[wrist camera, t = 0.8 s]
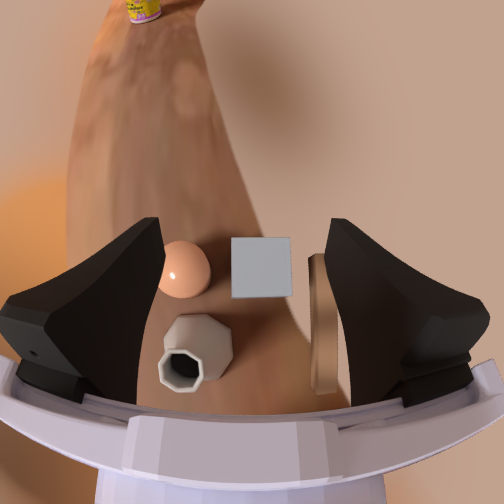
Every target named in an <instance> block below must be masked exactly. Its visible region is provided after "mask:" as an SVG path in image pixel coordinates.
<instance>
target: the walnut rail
mask: <svg viewBox="0 0 504 504" xmlns="http://www.w3.org/2000/svg"><path fill="white" fill-rule="evenodd" d="M308 264H309V265H308V266H309V285H310V312H311V313H310V316H311V389H312V390H313V391H314V392H315V393H316V394H317V395H322V394H329V393H335V392H337V373H338V372H337V370H338V323H337V322H338V321H337V320H338V319H337V305H336V302H335V299H334V296H333V293H332V290H331V286H330V283H329V280H328V277H327V272H326V267H325V262H324V254H314V255H312V256H311V257H309V258H308Z"/></svg>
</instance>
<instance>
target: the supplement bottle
mask: <svg viewBox="0 0 504 504" xmlns="http://www.w3.org/2000/svg"><path fill="white" fill-rule="evenodd" d="M126 4H127V8H128V12H129V16H130V20H131V22H132V23H136V24H140V23H146V22H149V21H152V20H154V19H156V18H157V17H158V16H159V15H160V14H161V5H160V0H126Z"/></svg>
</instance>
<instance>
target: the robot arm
mask: <svg viewBox="0 0 504 504" xmlns="http://www.w3.org/2000/svg"><path fill="white" fill-rule="evenodd" d="M165 259H166V254H165V249H164V244H163V239H162V234H161V229H160V224H159V219H158V217H149V218H144V219H142V220H140V221H139V222H137V223H136V224H134V225H133V226H132V227H130V228H129V229H128V230H126V231H125V232H124V233H122V234H121V235H120V236H118V237H117V238H116V239H115V240H113V241H112V242H110V243H109V244H108V245H106V246H105V247H104V248H102V249H101V250H99V251H98V252H97V253H95V254H94V255H92V256H91V257H89V258H88V259H86V260H85V261H83V262H82V263H80V264H78V265H77V266H75V267H74V268H72V269H70V270H68V271H66V272H64V273H62V274H61V275H59V276H57V277H55V278H53V279H51V280H49V281H47V282H45V283H42V284H40V285H38V286H36V287H33V288H31V289H28V290H25V291H22V292H20V293H17V294H15V295H12V296H10V297H9V298H8V299H7V301H6V302H5V304H4V306H3V307H2V309H1V310H0V333H1V334H2V336H3V337H4V338H5V340H6V341H7V342H8V343H9V344H10V346H11V347H12V348H13V349H14V350H15V351H16V352H17V354H18V355H19V356H20V357H21V358H22V360H21V362H20V365H19V364H18V363H16V362H15V361H14V360H12V359H9V358H7V357H5V356H2V355H0V420H1V421H3V422H4V423H6V424H8V425H9V426H11V427H12V428H14V429H15V430H17V431H18V432H20V433H22V434H24V435H25V436H27V437H29V438H31V439H32V440H34V441H36V442H38V443H40V444H42V445H44V446H46V447H48V448H50V449H52V450H54V451H56V452H58V453H61V454H63V455H65V456H67V457H70V458H72V459H74V460H77V461H79V462H82V463H84V464H87V465H90V466H92V467H95V468H98V469H99V473H98V480H97V488H96V496H95V504H387V502H386V494H385V486H384V478H383V474H385V473H388V472H391V471H394V470H397V469H400V468H403V467H406V466H409V465H411V464H414V463H417V462H419V461H422V460H424V459H427V458H429V457H431V456H434V455H436V454H438V453H440V452H442V451H444V450H446V449H448V448H451V447H453V446H455V445H456V444H459V443H460V442H462V441H464V440H466V439H468V438H470V437H472V436H473V435H475V434H477V433H478V432H480V431H482V430H483V429H485V428H487V427H488V426H490V425H491V424H493V423H494V422H496V421H497V420H499V419H500V418H502V417H503V416H504V383H503V380H502V378H501V375H500V373H499V371H498V368H497V366H496V364H495V362H494V359H490V360H487V361H485V362H483V363H480V364H478V365H476V366H474V367H473V368H471V369H470V367H469V365H468V362H470V361H471V356H470V354H469V350H470V349H471V348H472V347H473V346H474V345H475V343H476V342H477V341H478V340H479V339H480V337H481V336H482V335H483V334H484V332H485V331H486V329H487V327H488V325H489V321H490V315H489V313H488V311H487V310H486V308H485V306H484V305H483V303H482V302H481V301H480V299H477V298H474V297H472V296H469V295H466V294H464V293H461V292H458V291H456V290H454V289H451V288H449V287H447V286H445V285H443V284H441V283H439V282H437V281H435V280H433V279H431V278H429V277H427V276H425V275H423V274H422V273H420V272H418V271H417V270H415V269H413V268H412V267H410V266H409V265H407V264H406V263H404V262H402V261H401V260H400V259H398V258H397V257H395V256H394V255H392V254H391V253H390V252H388V251H387V250H386V249H384V248H383V247H382V246H380V245H379V244H378V243H377V242H375V241H374V240H373V239H371V238H370V237H369V236H368V235H366V234H365V233H364V232H363V231H361V230H360V229H359V228H358V227H356V226H355V225H354V224H352V223H351V222H349V221H348V220H346V219H339V218H332V219H331V224H330V230H329V234H328V239H327V244H326V249H325V254H324V262H325V267H326V272H327V277H328V280H329V283H330V286H331V290H332V293H333V296H334V299H335V302H336V305H337V308H338V311H339V314H340V317H341V321H342V325H343V329H344V335H345V341H346V347H347V355H348V363H349V372H350V385H351V407H349V408H343V409H336V410H328V411H319V412H309V413H297V414H281V415H219V414H203V413H191V412H181V411H172V410H164V409H157V408H151V407H145V406H139V405H136V400H137V379H138V368H139V359H140V352H141V345H142V340H143V334H144V329H145V325H146V321H147V317H148V314H149V311H150V308H151V305H152V303H153V300H154V297H155V294H156V291H157V288H158V286H159V283H160V280H161V277H162V273H163V269H164V264H165Z"/></svg>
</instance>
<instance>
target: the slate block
mask: <svg viewBox="0 0 504 504" xmlns="http://www.w3.org/2000/svg"><path fill="white" fill-rule="evenodd" d="M231 278H232V299H238V298H278V297H288V296H292V273H291V251H290V238H289V237H288V238H287V237H286V238H285V237H279V238H278V237H272V238H267V237H263V238H231Z"/></svg>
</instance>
